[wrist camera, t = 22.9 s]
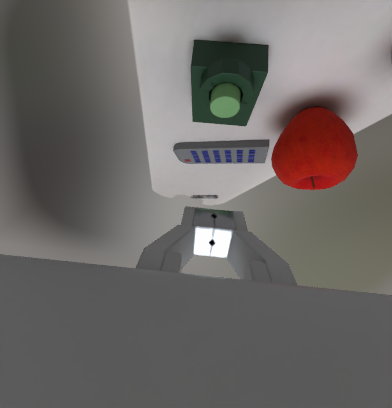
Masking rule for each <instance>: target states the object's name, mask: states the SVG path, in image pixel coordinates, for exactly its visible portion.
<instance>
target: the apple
mask: <svg viewBox="0 0 392 408" xmlns="http://www.w3.org/2000/svg"><path fill="white" fill-rule="evenodd" d="M357 156H358V154H357V150H356V144H355V140H354V135H353V133H352V131H351V130H350V129H349V127H348V126H347V125H346V123H345V122H344V121H343V120H342V119H341V118H340V117H338V116H337V115H336V114H335V113H333V112H332V111H330V110H328V109H326V108H324V107H311V108H307V109H305V110H303V111H300V112H299V113H298V114H297V115H296V116H295V117H294V118H293V119H292V120H291V121H290V122H289V124H288V125H287V126H286V128H285V129H284V131H283V132H282V134H281V135H280V137H279V139H278V141H277V143H276V145H275V147H274V150H273V153H272V158H271V160H272V167H273V169H274V171H275V173H276V175H277V176H278V178H279V179H280V180H281V181H282V182H283V183H284V184H286V185H288V186H291V187H293V188H297V189H310V190H316V189H326V188H330V187H333V186H335V185H337V184H338V183H340V182H342V181H344V180H345V179H346V178H347V176H348V175H349V174H350V172H351V171H352V170H353V169H354V167H355V163H356V160H357Z"/></svg>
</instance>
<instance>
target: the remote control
mask: <svg viewBox="0 0 392 408" xmlns="http://www.w3.org/2000/svg"><path fill="white" fill-rule="evenodd" d="M268 149H269V140H250V141H220V142H190V143H178V144H176V145H175V146H174V150H173V151H174V153H175V154H176V156H177V157H178V159H179V160H180V161H181V162H183V163H187V164H201V163H203V164H209V163H265V160H266V156H267V152H268Z"/></svg>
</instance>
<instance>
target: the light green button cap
mask: <svg viewBox="0 0 392 408" xmlns="http://www.w3.org/2000/svg"><path fill="white" fill-rule="evenodd" d="M240 96H241V92H240V89H239V88H238V86H237V85H235V84H233V83H228V82H224V83H220V84H218V85H216V86H215V87H214V88H213V90H212V93H211V103H210V110H211V112H212V113H213V114H214V115H215V116H217V117H221V118H229V117H232V116H234V115H235V114H237V112H238V111H239V109H240Z"/></svg>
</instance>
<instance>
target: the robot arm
mask: <svg viewBox="0 0 392 408" xmlns="http://www.w3.org/2000/svg"><path fill="white" fill-rule="evenodd" d="M193 255H204V256H213V257H221V258H227V260H228V261H229V263H230V264H231V266H232V267H233V269H234V270H235V271H236V273H237V274H238V276H239V277H240V279H232V278H223V277H213V276H203V275H194V274H184V273H181V269H182V268H183V267H184V266H185V265H186V264H187V262H188V261H189V260H190V259H191V258H192V257H193ZM0 408H392V295H386V294H376V293H367V292H356V291H348V290H337V289H327V288H318V287H308V286H299V285H297V283H296V281H295V278H294V276H293V273H292V271H291V269H290V266H289V264H288V263H287V262H286V261H285V260H284V259H282V258H281V257H280V256H279V255H278V254H276V253H275V252H274V251H273V250H272V249H271V248H269V247H268V246H267V245H266V244H265V243H263V242H262V241H261V240H259V238H258V237H256V236H255V235H254V234H253V233H252V232H248V230H247V226H246V222H245V218H244V214H243V212H241V211H225V210H214V209H206V208H198V207H196V208H195V207H188V206H186V207H185V209H184V214H183V218H182V222H181V225H177V226H176V227H174V228H173V229H171V230H170V231H168V232H167V233H166V234H164V235H163V236H161V237H160V238H158V239H157V240H155V241H154V242H153V243H151V244H150V245H148V246H147V247H145V248H144V250H143V252H142V254H141V257H140V259H139V261H138V264H137V266H136V268H126V267H117V266H107V265H97V264H87V263H78V262H68V261H58V260H49V259H39V258H30V257H21V256H11V255H2V254H0Z"/></svg>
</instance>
